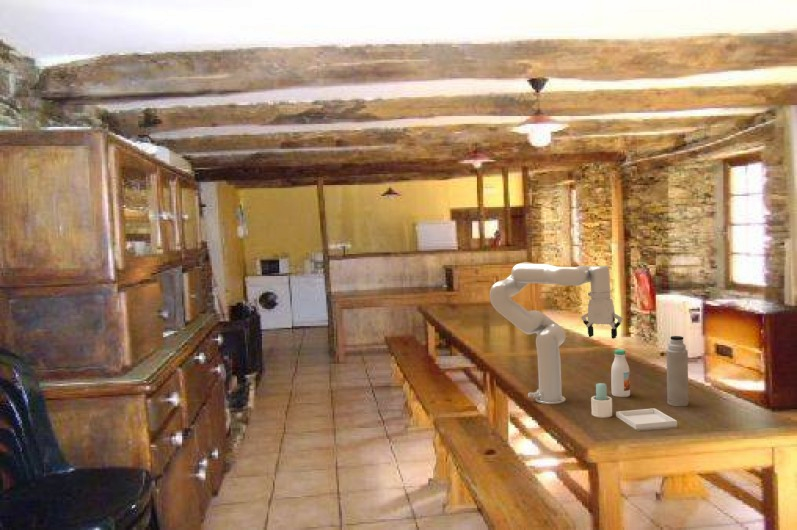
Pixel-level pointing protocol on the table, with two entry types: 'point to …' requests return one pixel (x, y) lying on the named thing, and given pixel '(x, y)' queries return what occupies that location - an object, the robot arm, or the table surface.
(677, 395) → the thermos bottle
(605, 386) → the peg
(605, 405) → the cup
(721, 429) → the table surface
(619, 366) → the milk bottle
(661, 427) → the tray
